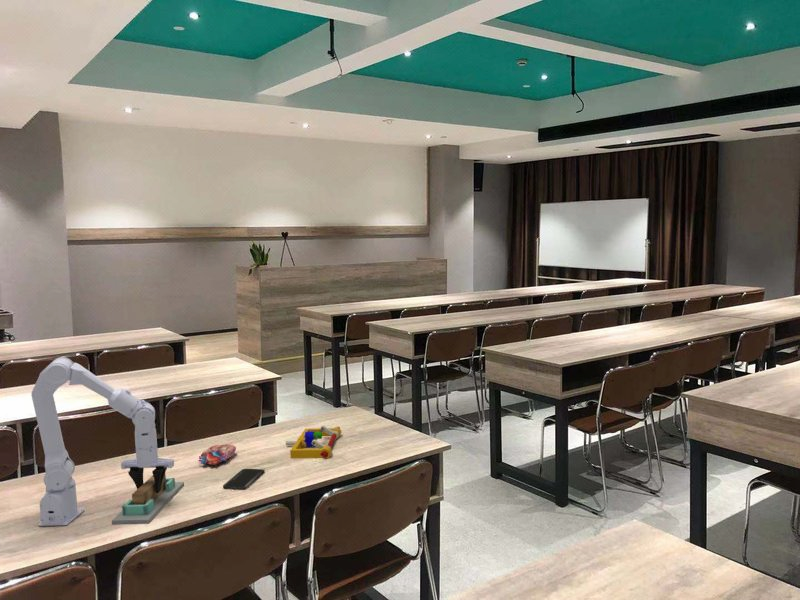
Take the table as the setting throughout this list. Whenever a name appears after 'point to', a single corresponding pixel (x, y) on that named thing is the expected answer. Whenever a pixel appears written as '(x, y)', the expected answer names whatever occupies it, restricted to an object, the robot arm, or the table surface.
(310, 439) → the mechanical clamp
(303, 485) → the table surface
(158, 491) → the robot arm
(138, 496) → the slat
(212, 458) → the anatomical model
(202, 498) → the table surface
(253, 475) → the phone
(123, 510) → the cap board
